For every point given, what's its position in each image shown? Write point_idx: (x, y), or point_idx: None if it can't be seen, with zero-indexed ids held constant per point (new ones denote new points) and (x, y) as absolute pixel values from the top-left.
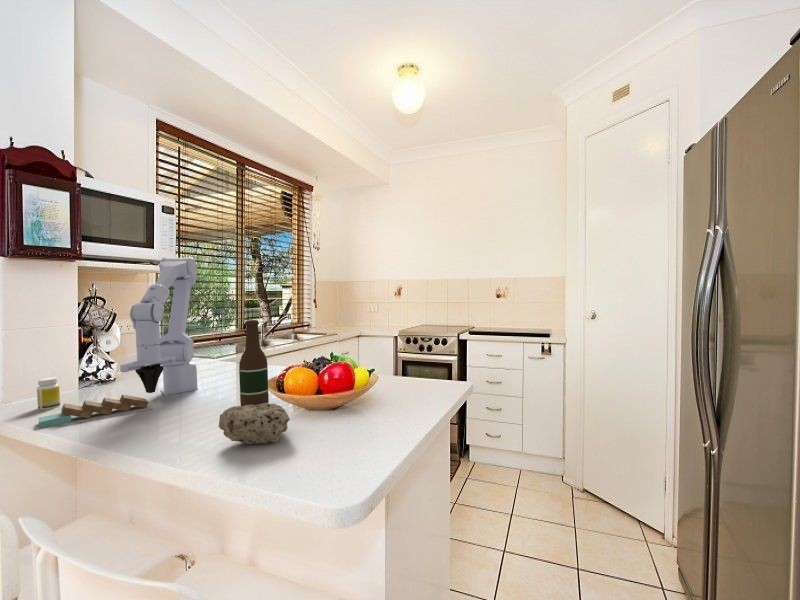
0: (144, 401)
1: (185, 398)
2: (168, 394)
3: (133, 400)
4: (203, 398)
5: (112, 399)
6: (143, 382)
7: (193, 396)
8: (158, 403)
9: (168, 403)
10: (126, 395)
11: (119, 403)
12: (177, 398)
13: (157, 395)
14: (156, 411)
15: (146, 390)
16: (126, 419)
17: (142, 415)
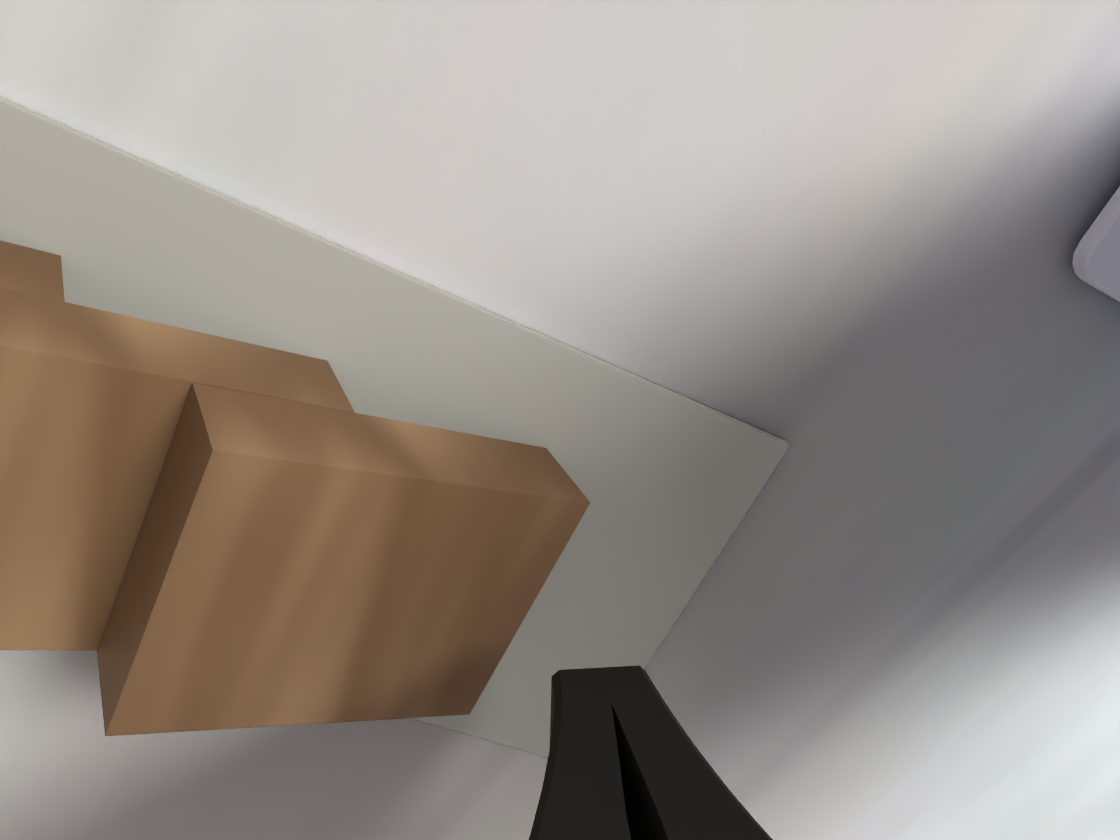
0: (420, 715)
1: (958, 657)
2: (1102, 288)
3: (267, 712)
4: (982, 825)
5: (20, 416)
6: (541, 835)
7: (1056, 665)
8: (651, 601)
9: (716, 669)
10: (277, 501)
11: (62, 645)
12: (944, 567)
13: (1081, 72)
14: (422, 826)
15: (552, 718)
16: (69, 818)
17: (252, 830)
